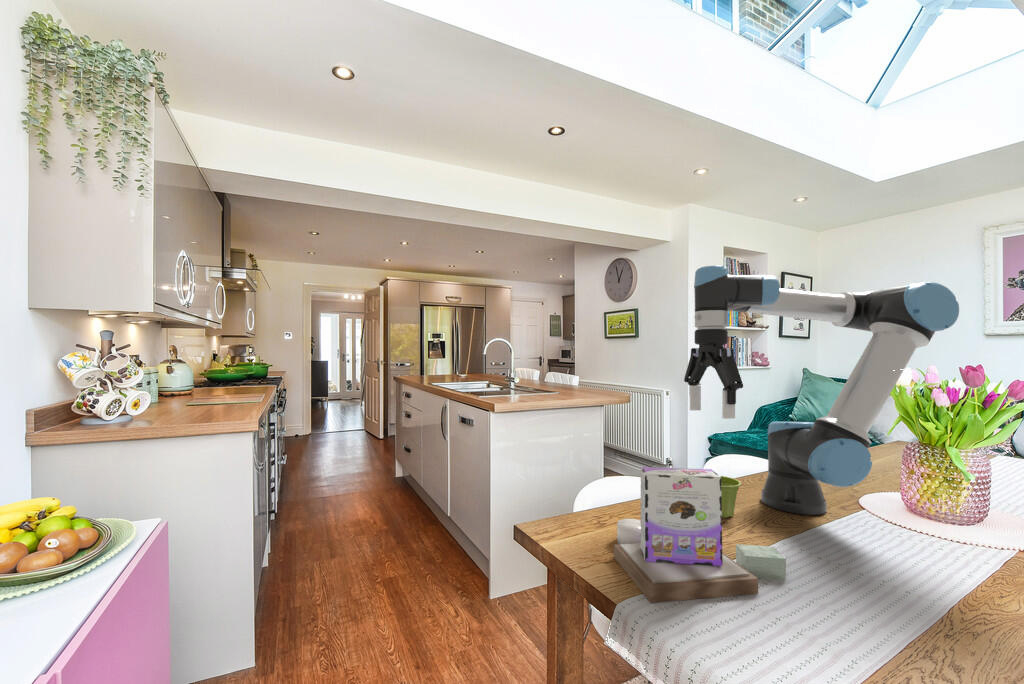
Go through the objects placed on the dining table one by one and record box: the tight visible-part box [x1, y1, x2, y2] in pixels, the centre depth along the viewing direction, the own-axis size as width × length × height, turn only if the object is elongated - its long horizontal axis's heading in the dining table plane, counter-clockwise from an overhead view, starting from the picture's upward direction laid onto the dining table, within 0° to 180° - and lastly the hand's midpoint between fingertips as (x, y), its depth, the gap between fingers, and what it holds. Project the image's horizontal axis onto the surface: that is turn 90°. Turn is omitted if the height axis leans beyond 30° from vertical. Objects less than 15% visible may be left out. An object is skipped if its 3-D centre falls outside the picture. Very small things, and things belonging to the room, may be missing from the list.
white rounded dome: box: [616, 518, 641, 544], centre depth 95 cm, size 7×7×4 cm
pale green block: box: [735, 543, 787, 580], centre depth 83 cm, size 7×5×4 cm
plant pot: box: [719, 475, 742, 519], centre depth 112 cm, size 9×9×9 cm
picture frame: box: [613, 543, 759, 604], centre depth 82 cm, size 20×16×3 cm
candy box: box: [640, 466, 723, 566], centre depth 82 cm, size 14×6×16 cm, turn 82°
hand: (710, 414), depth 107 cm, fingers open, 13 cm apart
